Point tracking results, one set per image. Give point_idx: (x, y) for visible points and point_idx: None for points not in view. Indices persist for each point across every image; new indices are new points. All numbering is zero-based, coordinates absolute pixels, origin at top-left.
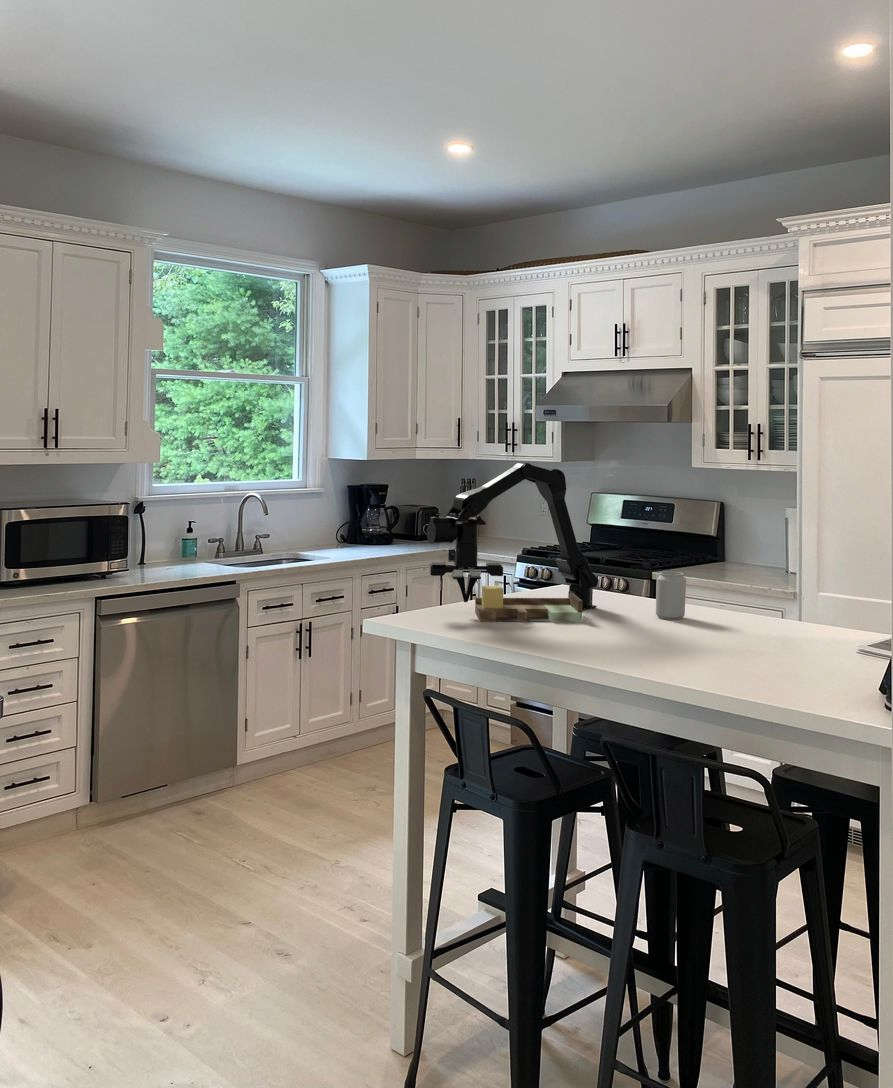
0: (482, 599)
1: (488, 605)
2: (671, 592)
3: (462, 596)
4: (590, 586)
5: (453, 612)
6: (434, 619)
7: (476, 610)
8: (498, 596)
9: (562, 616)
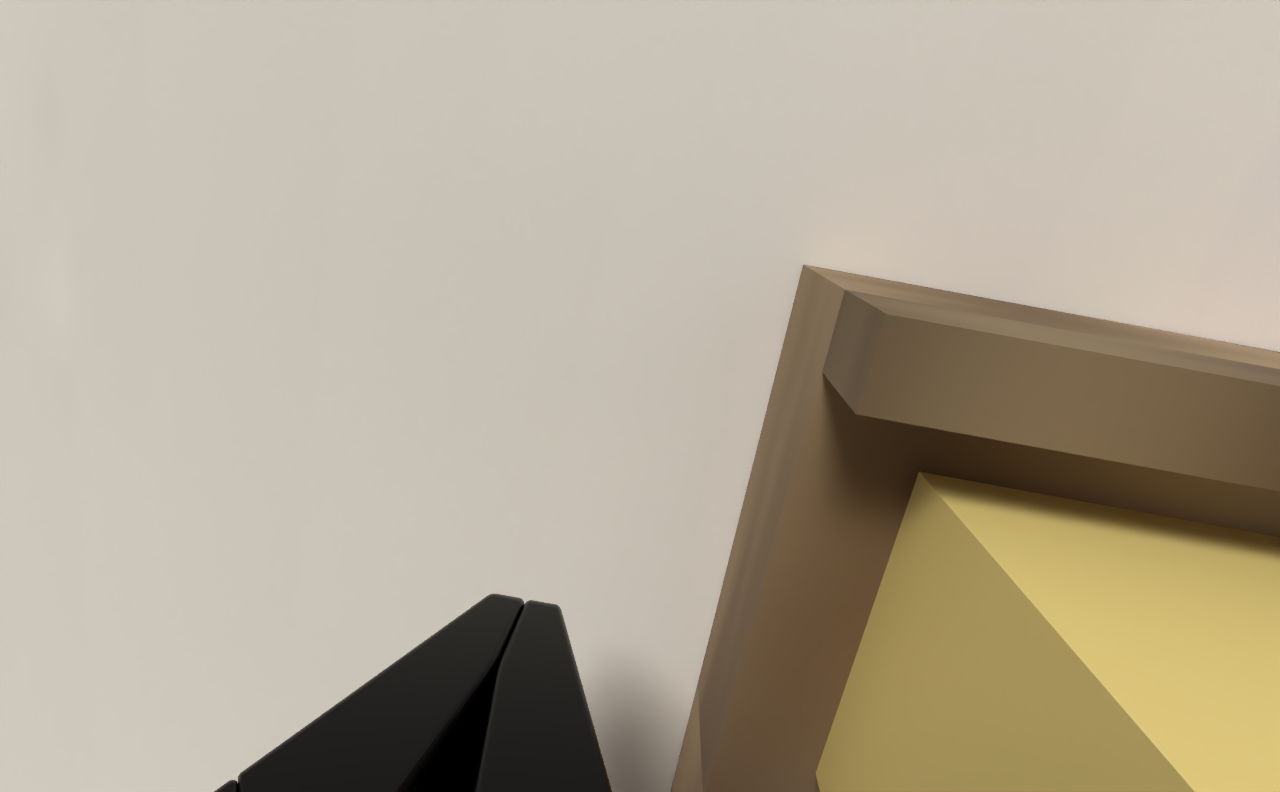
0: (921, 690)
1: None
2: None
3: (419, 647)
4: None
5: (433, 183)
6: (119, 647)
7: (756, 518)
8: None
9: None
